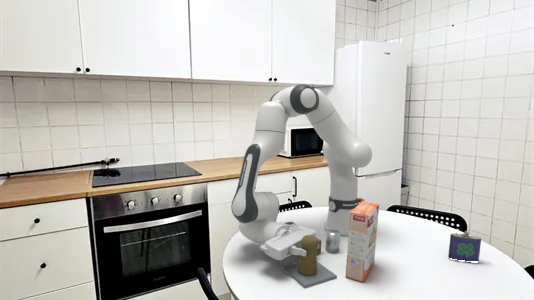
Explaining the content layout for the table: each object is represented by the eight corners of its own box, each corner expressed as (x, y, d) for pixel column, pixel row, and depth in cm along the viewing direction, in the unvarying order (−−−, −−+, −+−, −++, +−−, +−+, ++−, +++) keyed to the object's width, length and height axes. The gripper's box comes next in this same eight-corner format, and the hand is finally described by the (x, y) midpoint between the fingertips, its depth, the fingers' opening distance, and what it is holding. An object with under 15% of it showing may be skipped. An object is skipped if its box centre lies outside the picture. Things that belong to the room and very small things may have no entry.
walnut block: (310, 248, 112) (310, 235, 111) (321, 253, 109) (321, 239, 108) (301, 252, 109) (301, 239, 108) (312, 257, 105) (312, 243, 104)
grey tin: (333, 246, 114) (333, 228, 113) (342, 252, 110) (343, 233, 109) (322, 249, 112) (323, 230, 111) (331, 254, 107) (332, 235, 106)
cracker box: (364, 283, 90) (369, 215, 87) (344, 277, 93) (348, 211, 90) (375, 264, 101) (380, 203, 99) (357, 259, 105) (361, 200, 102)
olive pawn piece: (316, 277, 91) (319, 242, 89) (296, 273, 92) (299, 238, 91) (317, 267, 97) (321, 234, 95) (299, 263, 98) (302, 231, 96)
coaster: (312, 260, 103) (312, 258, 103) (336, 278, 92) (336, 275, 92) (282, 268, 97) (282, 266, 97) (304, 288, 87) (304, 285, 87)
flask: (477, 261, 105) (480, 231, 104) (480, 265, 102) (484, 234, 101) (447, 257, 108) (450, 228, 106) (449, 260, 105) (452, 231, 103)
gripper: (256, 237, 94) (292, 251, 85) (295, 220, 109) (329, 230, 100) (256, 256, 95) (291, 272, 86) (295, 236, 110) (328, 249, 101)
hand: (312, 250), depth 93 cm, fingers open, 5 cm apart
